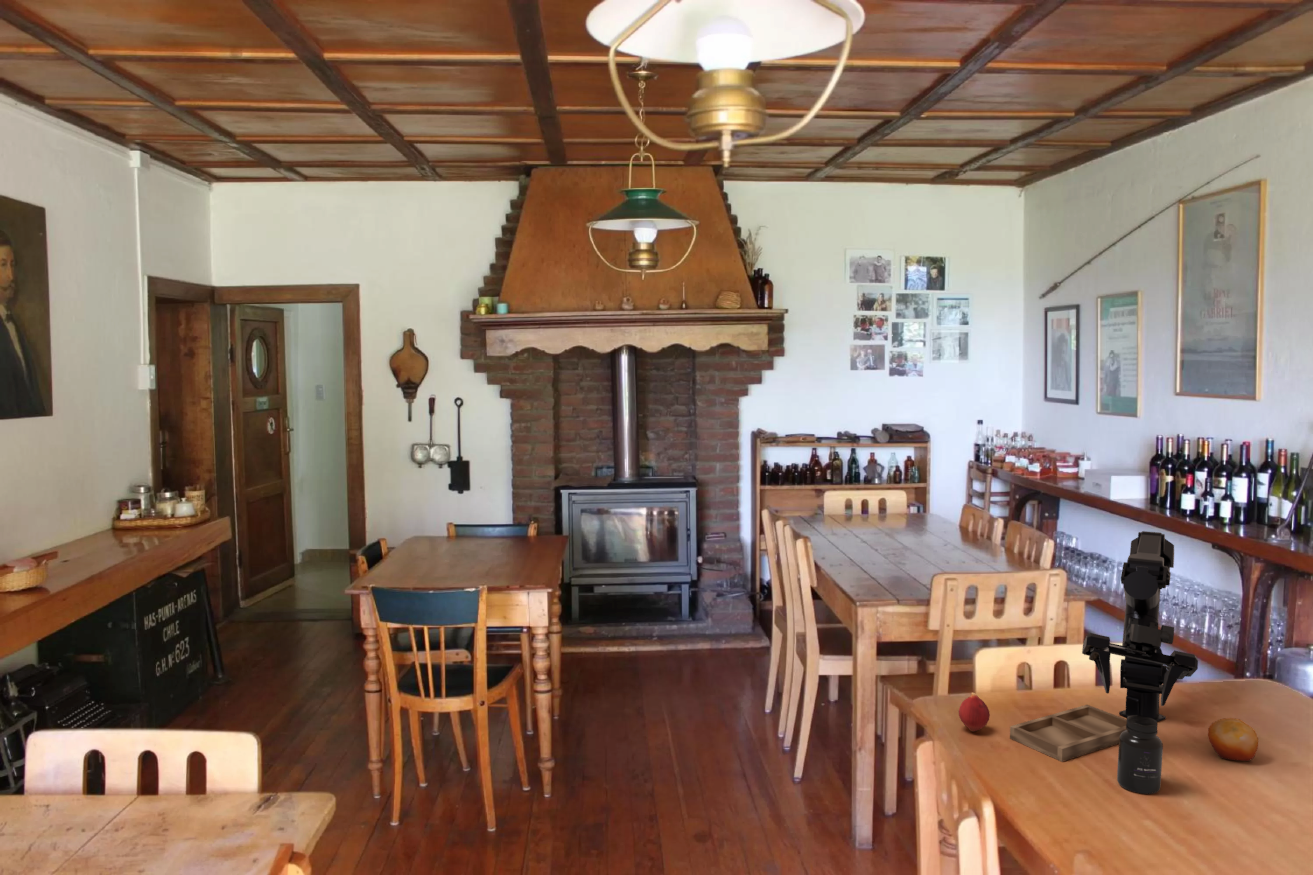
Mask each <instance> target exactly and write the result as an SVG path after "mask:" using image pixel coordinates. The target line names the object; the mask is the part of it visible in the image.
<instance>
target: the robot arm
mask: <svg viewBox="0 0 1313 875" xmlns="http://www.w3.org/2000/svg"><path fill="white" fill-rule="evenodd" d="M1129 548H1130V550H1129V555H1128V557H1127V562H1125V561H1123V564H1122V569H1121V574H1120V584H1121V585H1122V586H1123V592H1124V599H1125V608H1124V609H1125V610H1124V611H1125V612H1124V621H1123V622H1124V623H1123V630H1122V631H1123V633H1122V645H1121V644H1117V643H1112V642H1111V637H1110V636H1107V635H1102V634H1096V633H1092V632H1089V634H1087V635H1086V637H1085V639H1083V640H1084V641H1083V643H1082V649H1081V650H1082V651H1081V654H1083V655H1084V656H1089V657H1088V659H1089V661H1093V662H1094V664H1095V666H1096V669H1097V670H1098V673H1099V675H1100V678H1101V682H1102V684H1103V688H1104V690H1105V691H1104V692H1105V693H1106V694H1109V693H1110V691H1111V690H1110V688H1111V665H1110V664H1111V655H1116V656H1119V657H1120V656H1121V657H1124V658H1121V660H1120V670H1119V671H1120V673H1119V674H1120V676H1119V684H1120V685H1119V687H1120V689H1126V695H1125V696H1126V697H1125V709H1124V710H1120V711H1119V712H1118V715H1119V716H1123V717H1124V718H1127V717H1128V716H1133V715H1137V716H1145V717H1148V718H1151V719H1153V720H1155V721H1156V722H1157V723H1158V722H1160V721H1163V720H1166V719H1167V718H1166V716H1165V715H1163V714H1160V707H1165V705H1166V703H1167V701H1168V698H1169V696H1170V694H1171V692H1172V689H1173V687H1174V685H1175V684H1176V682H1177V681H1178V680H1183V679H1184V678H1185V677H1192V676H1193V675H1194V673H1196V672H1197V670H1198V667H1199V659H1198V657H1197V656H1196V654H1194V653H1188V652H1183V651H1181V650H1180V651H1179V650H1175V649H1174V650H1172V651H1173V652H1171V654H1164V653H1163V651H1162V648H1161V647H1162V643H1164V644H1168V645H1173V643H1174V638H1175V627H1174V626H1170V625H1164V624H1162V625H1161V627H1160V629H1159V620H1160V618H1159V615H1160V603H1161V602H1160V601H1161V590H1163V589H1167V588H1166V587H1167V586H1170V585H1171V584H1170V583H1171V576H1172V573H1171V571H1170V570H1171V569H1172V568H1173V569H1174V566H1175V544H1173V542H1170V541H1169V540H1168V539H1167V538H1166V535H1165V533H1162V532H1158V531H1157V532H1156V531H1145V530H1143V531H1138V534H1137V537H1135V538H1134V539H1132V540H1131V541H1130V547H1129ZM1160 705H1161V706H1160Z"/></svg>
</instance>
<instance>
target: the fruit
mask: <svg viewBox="0 0 1313 875" xmlns="http://www.w3.org/2000/svg"><path fill="white" fill-rule="evenodd" d="M1207 729H1208V731H1207V739H1208V741H1209V743H1210V745H1211V747H1212V748H1213V750H1214V751H1215V752H1216V754H1217V755H1218V756H1219V757H1220V758H1221V759H1224V760H1230V761H1240V762H1241V761H1243V762H1249V761H1251V760H1253V759H1254V758H1255V757H1256V756H1255V755H1256V753H1257V751H1258V749H1259V741H1260V740H1259V737H1258V734H1257V732H1256V730H1255V729H1254V727H1253V726H1250V725H1249V724H1248V723H1246V722H1245V721H1243V720H1241V719H1240V718H1232V717H1229V718H1228V717H1227V718H1220V719H1217V720H1216V721H1214V722H1212V723H1211V724H1210V725H1209V726H1208V728H1207Z"/></svg>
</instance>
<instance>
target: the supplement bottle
mask: <svg viewBox="0 0 1313 875" xmlns="http://www.w3.org/2000/svg"><path fill="white" fill-rule="evenodd" d="M1126 719H1127V723H1126V729H1127V730H1125V731H1123V732H1122V733H1121V734H1120V737H1119V744H1118V752H1117V753H1118V755H1117V771H1116V772H1117V774H1116V778H1117V779H1116V780H1117V783H1118V784H1119V786H1120V787H1122V788H1123V789H1125V790H1128V791H1131V792H1132V793H1137V794H1142V795H1153V794H1156V793H1158V792H1159V791H1160V789H1161V783H1162V782H1161V781H1162V768H1163V767H1162V766H1163V753H1164V752H1163V751H1164V750H1163V749H1164V744H1163V741H1162V739H1161V738H1160V737H1159V736H1158V727H1159V726H1158V721H1157V722H1156V721H1155V720H1153V719H1151V718H1148V717H1145V716H1137V715H1133V716H1128V717H1126Z"/></svg>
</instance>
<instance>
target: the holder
mask: <svg viewBox="0 0 1313 875" xmlns="http://www.w3.org/2000/svg"><path fill="white" fill-rule="evenodd" d="M1126 723H1127V718H1125V717H1121V716H1120V715H1116V714H1113V713H1111V712H1108V711H1105V710H1103V709H1100V708H1097V707H1095V706H1092V705H1090V704H1085V705H1081V706H1078V707H1074V708H1070V709H1067V710H1063V711H1059V712H1056V713H1055V712H1054V713H1053V714H1049V715H1045V716H1041V717H1039V718H1036V719H1031V720H1027V721H1024V722H1020V723H1017V724H1014V725H1010V726H1009V739H1010V740H1012V741H1015V742H1017V743H1019V744H1021V745H1023V746H1026V747H1029V749H1032V750H1035V751H1037V752H1040V753H1041V754H1044V755H1046V756H1049V757H1051V758H1052V759H1055V760H1057V761H1059V762H1062V763H1063V762H1065V761H1069V760H1072V759H1074V758H1075V759H1076V758H1078V757H1081V756H1085V755H1087V754H1091V753H1094V752H1097V751H1100V750H1103V749H1106V748H1109V747H1112V746H1115V745H1119V737H1120V734H1121V733H1122V732H1123V731H1125V730H1127V729H1126Z"/></svg>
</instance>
